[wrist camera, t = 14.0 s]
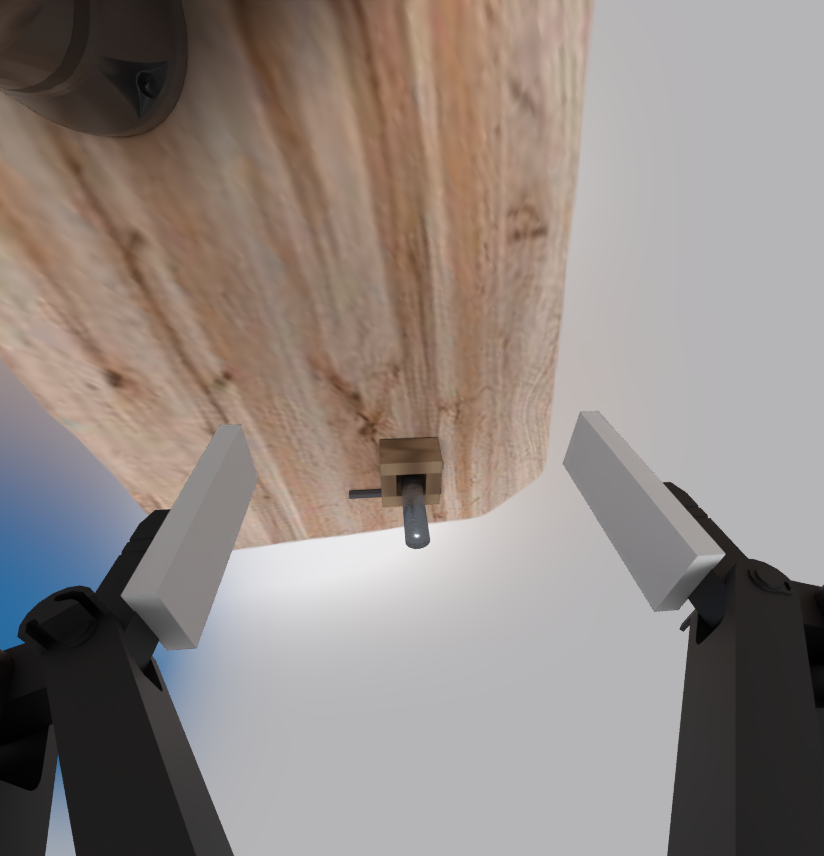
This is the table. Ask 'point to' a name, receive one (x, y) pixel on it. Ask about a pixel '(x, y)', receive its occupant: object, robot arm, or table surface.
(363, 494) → the dark grey rod
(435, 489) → the bead block
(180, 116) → the table surface
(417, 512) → the dark grey peg
